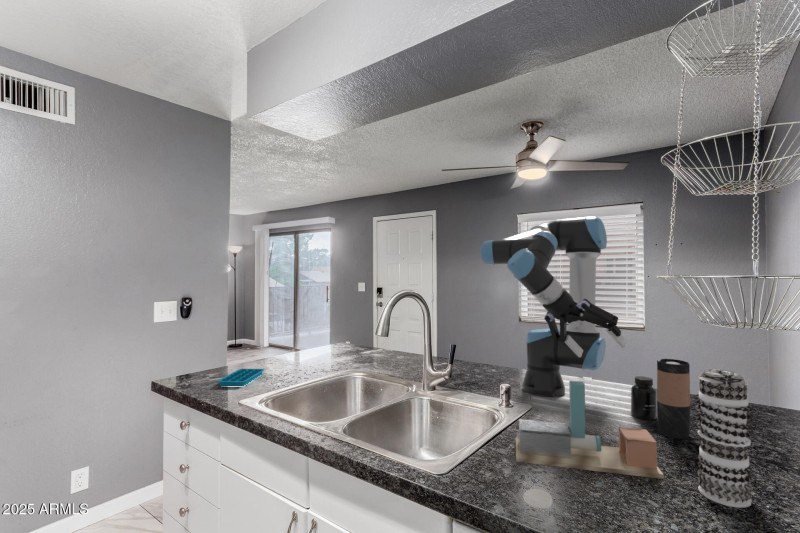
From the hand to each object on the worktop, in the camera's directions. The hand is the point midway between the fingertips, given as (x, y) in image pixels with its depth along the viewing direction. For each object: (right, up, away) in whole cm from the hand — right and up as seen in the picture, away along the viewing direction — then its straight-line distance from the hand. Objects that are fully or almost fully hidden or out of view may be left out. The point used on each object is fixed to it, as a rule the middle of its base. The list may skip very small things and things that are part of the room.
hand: (601, 349), depth 113 cm
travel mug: (+19, -23, -2) cm, 30 cm away
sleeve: (-21, -22, -13) cm, 33 cm away
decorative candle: (+9, -23, -32) cm, 40 cm away
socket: (-1, -22, -19) cm, 29 cm away
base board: (-13, -23, -15) cm, 31 cm away
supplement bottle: (+19, -23, +11) cm, 32 cm away
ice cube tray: (-123, -25, +54) cm, 137 cm away
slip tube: (-16, -21, -14) cm, 30 cm away
